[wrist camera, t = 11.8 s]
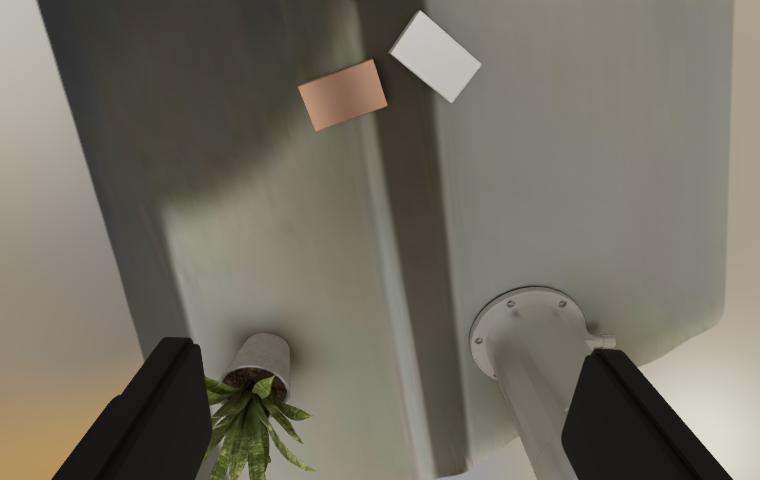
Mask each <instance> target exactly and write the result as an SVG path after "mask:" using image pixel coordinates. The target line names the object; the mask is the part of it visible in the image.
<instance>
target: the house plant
mask: <svg viewBox="0 0 760 480" xmlns="http://www.w3.org/2000/svg"><path fill="white" fill-rule="evenodd" d="M205 382H206V389H207V395H208V402H209V405H214V404H218V403H221V404H222V405H223V406H222V407H221V408H220V409H219V410H218V411H217V412H216V413H215V414H214V415H213V416H211V421H212V426H213V425H214V424H215V423H216V422H217V421H218V420H219V419H220V418H221V417H223V416H226V417H225V418H224V419H223V420H222V421H221V422H220V423H218V424H217V425H216V426H214V427H212V437H211V441H210V444H209V446H208V449H207V451H206V454H205V456H204V458H203V461H204V460H205V459H206V458H207V456H208V455H209V454H210V452H211V451H212V450H213V449H214V448H215V447H216V445H217V444H218V443H219V442H220V441H221V440H222V438H223V437H224V436H225V435H226V437H225V439H224V442H223V446H222V449H221V451H220V453H219V456H218V458H217V460H216V463H215V465H214V468H213V470H212V473H211V476H210V478H209V480H223V479H224V476H225V474H226V471H227V469H228V466H229V463H230V468H229V480H237V478H238V477H239V475H240V474H241V472H242V470H243V468H244V466H245V463H246V462H248V466H249V476H250V480H266V479H265V471H266V468H267V464H268V463H270V462H271V459H270V456H269V434H268V430H269V433H270V435H271V437H272V439H273V441H274V443H275V445H276V447H277V448H278V449H279V451H280V452H281V453H282V455H283V456H284V457H285V458H286V459H287V460H288V461H290V462H291V463H293V464H295V465H297V466H298V467H300V468H302V469H304V470H306V471H315V470H313V469H312V468H310V467H308V466H306V465H305V464H303V463H302V462H301V461H299V460H298V459H297V458H295V457H294V456H293V455H292V454H291V453H290V451H289V450H288V449H287V448H286V447H285V446H284V444H283V443H282V442H281V441H280V439H279V437H278V436H277V434H276V433H275V431H274V429H273V427H272V425H271V424H270V422H269V420H268V418H270V417H274V419H275V420H276V421H277V422H278V423H279V424H280V425H281V426H282V427H283V428H284V429H285V430H286V431H287V432H288V434H289V435H290V436H291V437H293V438H294V439H295V440H297V441H298V442H300V443H302V441H301V439H300V438H299V437H298V436H297V434H296V433H295V431H294V429H293V427H292V425H291V423H290V422H289V421H288V419H287V418H286V417H285V416H287V417H288V418H290V419H292V420H304V419H306V418H309V417H311V416H313V415H309V414H307V413H306V412H304V411H302V410H300V409H298V408H296V407H293V406H290V405H288V402H289V399H290V348H289V346H288V344H287V343H286V341H285V340H284V339H283V338H281V337H280V336H277V335H274V334H270V333H263V332H262V333H257V334H254V335H252V336H250V337H249V338H248V339H247V340H246V342H245V343H244V344H243V346H242V347H241V349H240V350H239V352H238V353H237V355H236V356H235V357H234V359H233V360H232V362H231V363H230V365H229V366H228V368H227V369H226V371H225V372H224V373H223V375H222V376H221V378H220V379H219V381H215V380H211V379H209V378H207V377H205ZM281 412H282V413H283V414H284V415H285V416H284V415H283V414H282V413H281ZM267 429H268V430H267ZM226 433H227V434H226ZM302 444H303V443H302ZM203 461H202V462H203Z"/></svg>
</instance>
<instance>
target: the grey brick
mask: <svg viewBox="0 0 760 480" xmlns="http://www.w3.org/2000/svg"><path fill="white" fill-rule="evenodd" d="M388 53H389V54H390V55H392V56H393V57H394V58H395V59H397V60H398V61H399V62H400V63H401V64H403V65H404V66H405V67H406V68H408V69H409V70H410V71H411V72H412V73H414V74H415V75H416V76H417V77H419V78H420V79H421V80H422V81H423V82H425V83H426V84H427V85H428V86H430V87H431V88H432V89H433V90H434V91H436V92H437V93H438V94H439V95H441V96H442V97H443V98H444V99H446V100H447V101H449V102H450V103H453V101H454V100H455V99H456V97H457V96H458V95H459V93H460V92H461V91H462V90H463V88H464V87H465V86H466V84H467V83H468V82H469V81H470V79H471V78H472V77H473V75H474V74H475V73H476V71H477V70H478V69H479V68H480V66H481V65H482V64H481V63H480V62H479V61H477V60H476V59H475V58H474V57H473V56H472V55H471V54H469V53H468V52H467V51H466V50H465V49H464V48H463V47H461V46H460V45H459V44H458V43H457V42H456V41H455V40H453V39H452V38H451V37H450V36H449V35H448V34H447V33H446V32H444V31H443V30H442V29H441V28H440V27H439V26H438V25H436V24H435V23H434V22H433V21H432V20H431V19H430V18H428V17H427V16H426V15H425V14H424V13H423V12H422V11H418V12H416V13H415V14H414V15H413V17H412V18H411V20H410V21H409V23H408V24H407V26H406V27H405V29H404V30H403V32H402V33H401V35H400V36H399V37H398V39H397V40H396V42H395V43H394V45H393V46H392V48H391V49H390V51H389V52H388Z"/></svg>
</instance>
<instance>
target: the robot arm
mask: <svg viewBox="0 0 760 480" xmlns="http://www.w3.org/2000/svg"><path fill="white" fill-rule="evenodd" d="M469 343H470V350H471V353H472V356H473V358H474V361H475V363H476V365H477V366H478V367H479V369H480V370H481V371H482V372H484V373H485V374H486V375H487V376H489V377H491V378H492V379H495V380H497V381H498V384H499V386H500V389H501V391H502V394H503V396H504V398H505V401H506V403H507V406H508V408H509V411H510V413H511V416H512V418H513V421H514V423H515V426H516V428H517V431H518V433H519V436H520V438H521V441H522V443H523V446H524V448H525V451H526V453H527V456H528V458H529V461H530V463H531V466H532V468H533V470H534V473H535V475H536V478H537V480H733V479H732V478H731V477H730V476H729V474H728V473H727V472H726V471H725V470H724V468H723V467H722V466H721V465H720V464H719V463H718V461H717V460H716V459H715V458H714V457H713V456H712V454H711V453H710V452H709V451H708V450H707V449H706V447H705V446H704V445H703V444H702V443H701V442H700V440H699V439H698V438H697V437H696V436H695V435H694V433H693V432H692V431H691V430H690V429H689V428H688V426H687V425H686V424H685V423H684V422H683V421H682V420H681V418H680V417H679V416H678V415H677V414H676V412H675V411H674V410H673V409H672V408H671V407H670V405H668V403H667V402H666V401H665V400H664V398H663V397H662V396H661V395H660V394H659V393H658V391H657V390H656V389H655V388H654V387H653V386H652V384H651V383H650V382H649V381H648V380H647V379H646V378H645V376H643V374H642V373H641V372H640V370H639V369H638V368H637V367H636V366H635V365H634V363H633V362H632V361H631V360H630V359H629V358H628V356H627V355H626V354H625V353H624V352H623V351H621V350H614V349H595V350H594V351H593V349H594V348H614V347H615V346H616V340H615V338H614V336H613V335H598V336H593V335H592V334H591V333H589V332H588V331H587V330H586V323H585V319H584V316H583V314H582V312H581V310H580V309H579V308H578V306H577V305H576V304H575V303H574V302H573V301H572V300H571V299H570V298H569V297H568V296H566V295H565V294H563V293H561V292H559V291H556V290H554V289H550V288H544V287H528V288H522V289H517V290H514V291H511V292H508V293H506V294H504V295H502V296H500V297H498V298H497V299H495V300H494V301H492V302H491V303H490V304H488V305H487V306H486V307H485V308H484V309H483V310H482V311H481V312H480V314H479V315H478V317H477V318H476V320H475V322H474V324H473V326H472V328H471V332H470V337H469ZM211 437H212V421H211V415H210V408H209V402H208V395H207V389H206V382H205V375H204V369H203V362H202V356H201V349H200V346H199V345H198V344H193V341H192V339H191V338H180V337H165V338H163V339H162V340H161V341H160V342H159V344H158V345H157V346H156V348H155V349H154V350H153V352H152V353H151V355H150V356H149V357H148V359H147V360H146V361H145V363H144V364H143V365H142V367H141V368H140V370H139V371H138V373H137V374H136V375H135V376H134V378H133V379H132V380H131V382H130V383H129V385H128V386H127V387H126V389H125V390H124V391H123V393H122V394H121V395H118V396H116V397H115V398H113V399H112V400H111V401H110V403H109V404H108V405H107V406H106V408H105V409H104V410H103V412H102V413H101V414H100V416H99V417H98V418H97V420H96V421H95V422H94V423H93V425H92V426H91V428H90V429H89V430H88V432H87V433H86V434H85V436H84V437H83V438H82V439H81V441H80V442H79V443H78V445H77V446H76V447H75V449H74V450H73V452H72V453H71V454H70V455H69V457H68V458H67V459H66V461H65V462H64V463H63V465H62V466H61V467H60V469H59V470H58V471H57V473H56V474H55V475H54V477H53V478H52V480H195V478H196V475H197V473H198V471H199V468H200V466H201V463H202V461H203V458H204V456H205V454H206V451H207V449H208V446H209V444H210V441H211Z"/></svg>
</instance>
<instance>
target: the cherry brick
mask: <svg viewBox="0 0 760 480" xmlns="http://www.w3.org/2000/svg"><path fill="white" fill-rule="evenodd" d="M298 88H299V90H300V93H301V95H302V98H303V100H304V103H305V105H306V108H307V110H308V113H309V115H310V118H311V120H312V123H313V126H314V128H315V131H318V130H321V129H323V128H326V127H329V126H332V125H335V124H338V123H340V122H343V121H346V120H349V119H352V118H355V117H357V116H360V115H363V114H366V113H369V112H372V111H374V110H377V109H380V108H383V107H386V106H387V102H386V99H385V96H384V93H383V90H382V86H381V83H380V80H379V77H378V74H377V70H376V67H375V64H374V61H373V59H372V58H371V59H368V60H366V61H363V62H360V63H357V64H355V65H352V66H349V67H346V68H344V69H341V70H338V71H336V72H333V73H330V74H327V75H325V76H322V77H319V78H316V79H314V80H311V81H308V82H306V83H303V84H302V85H300V86H299V87H298Z"/></svg>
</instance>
